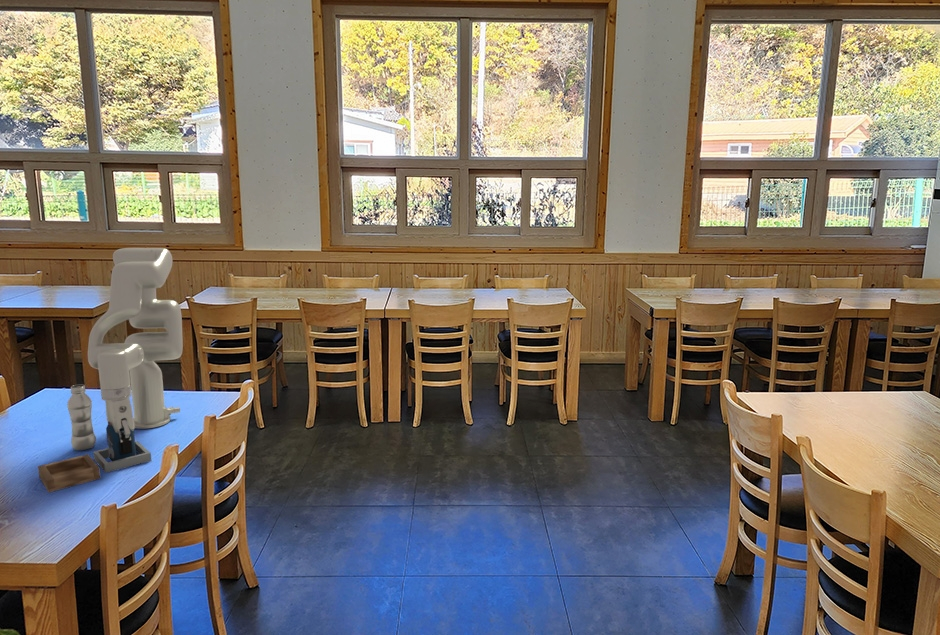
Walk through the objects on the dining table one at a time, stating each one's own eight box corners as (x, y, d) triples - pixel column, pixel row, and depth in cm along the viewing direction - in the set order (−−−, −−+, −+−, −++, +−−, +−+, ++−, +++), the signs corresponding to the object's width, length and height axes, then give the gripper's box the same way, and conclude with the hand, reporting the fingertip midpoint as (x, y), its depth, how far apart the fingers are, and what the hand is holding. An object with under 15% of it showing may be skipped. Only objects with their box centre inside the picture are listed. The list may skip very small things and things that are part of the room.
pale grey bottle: (70, 454, 183) (63, 390, 179) (73, 446, 189) (66, 384, 185) (95, 450, 186) (89, 388, 182) (97, 442, 192) (91, 382, 188)
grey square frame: (138, 448, 188) (137, 441, 187) (151, 460, 179) (150, 452, 179) (94, 459, 179) (93, 451, 179) (105, 472, 171) (104, 464, 171)
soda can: (140, 454, 183) (137, 416, 181) (128, 464, 176) (125, 425, 174) (117, 454, 183) (113, 416, 181) (104, 464, 176) (100, 425, 174)
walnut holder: (89, 464, 176) (87, 454, 175) (100, 478, 168) (99, 467, 167) (39, 477, 168) (37, 466, 167) (48, 492, 159) (47, 480, 159)
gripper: (140, 396, 172) (145, 455, 176) (121, 382, 184) (127, 437, 188) (110, 402, 167) (116, 462, 170) (93, 387, 179) (99, 444, 183)
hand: (122, 449), depth 179 cm, fingers closed on soda can, 6 cm apart
